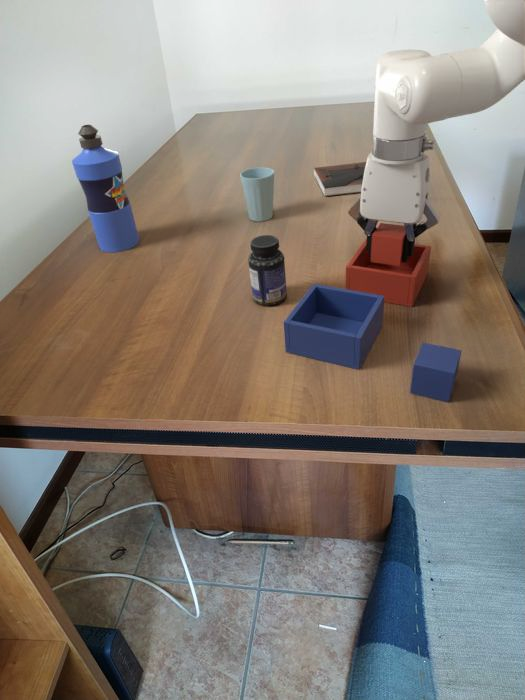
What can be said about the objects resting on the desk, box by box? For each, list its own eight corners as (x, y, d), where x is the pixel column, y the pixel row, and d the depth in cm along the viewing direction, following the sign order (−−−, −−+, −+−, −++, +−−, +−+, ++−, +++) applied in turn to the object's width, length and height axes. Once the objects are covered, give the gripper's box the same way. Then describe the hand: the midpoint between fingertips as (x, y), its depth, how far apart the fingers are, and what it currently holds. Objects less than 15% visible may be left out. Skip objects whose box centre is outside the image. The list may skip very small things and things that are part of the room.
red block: (407, 253, 86) (410, 226, 83) (399, 266, 83) (402, 238, 80) (379, 249, 88) (380, 222, 85) (370, 262, 85) (372, 234, 82)
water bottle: (147, 235, 115) (119, 119, 99) (125, 254, 108) (92, 132, 93) (113, 233, 118) (81, 119, 102) (90, 250, 111) (51, 132, 96)
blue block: (455, 379, 68) (461, 350, 65) (448, 402, 64) (454, 373, 61) (418, 370, 70) (422, 342, 67) (409, 393, 66) (413, 364, 63)
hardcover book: (324, 197, 124) (410, 187, 124) (324, 187, 123) (411, 177, 123) (314, 176, 137) (391, 167, 137) (313, 166, 136) (392, 158, 136)
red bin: (427, 274, 90) (431, 245, 87) (412, 307, 82) (415, 277, 79) (365, 264, 95) (366, 237, 92) (345, 295, 87) (345, 266, 84)
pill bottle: (290, 290, 90) (287, 233, 83) (282, 308, 85) (278, 250, 79) (257, 288, 92) (252, 232, 85) (248, 305, 87) (241, 248, 80)
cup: (283, 218, 116) (280, 173, 109) (252, 226, 114) (247, 181, 107) (269, 208, 121) (265, 165, 115) (240, 215, 119) (235, 172, 113)
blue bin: (382, 326, 79) (384, 295, 75) (359, 369, 71) (360, 338, 68) (314, 312, 84) (313, 283, 80) (285, 352, 76) (283, 321, 72)
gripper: (462, 142, 73) (444, 253, 85) (351, 137, 80) (348, 241, 91) (452, 158, 68) (435, 274, 79) (335, 151, 75) (334, 259, 86)
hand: (389, 255), depth 85 cm, fingers closed on red block, 5 cm apart
